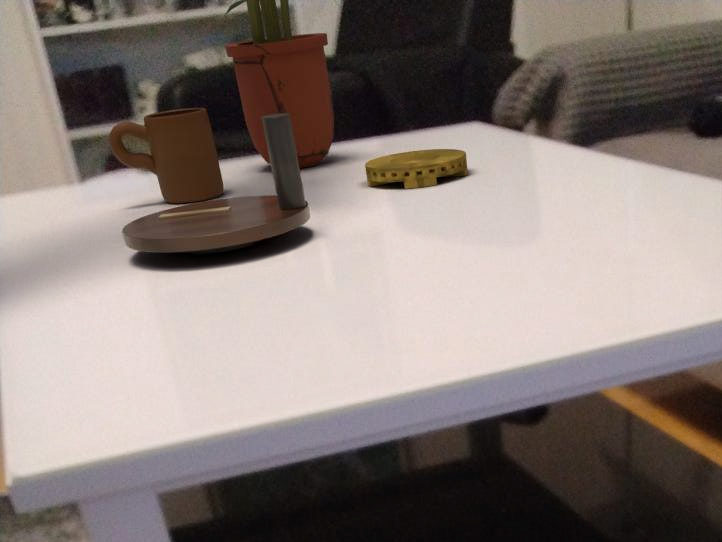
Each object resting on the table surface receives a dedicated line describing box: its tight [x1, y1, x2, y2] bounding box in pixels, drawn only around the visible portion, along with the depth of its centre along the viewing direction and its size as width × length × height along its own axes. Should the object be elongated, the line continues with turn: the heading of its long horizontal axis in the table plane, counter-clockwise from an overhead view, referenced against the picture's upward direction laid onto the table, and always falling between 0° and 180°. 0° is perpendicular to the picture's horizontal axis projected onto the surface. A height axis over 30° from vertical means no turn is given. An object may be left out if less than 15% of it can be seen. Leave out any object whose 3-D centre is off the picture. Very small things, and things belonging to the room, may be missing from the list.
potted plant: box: [224, 0, 341, 169], centre depth 127 cm, size 17×16×35 cm
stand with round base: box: [121, 113, 311, 255], centre depth 98 cm, size 18×18×11 cm
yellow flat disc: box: [364, 148, 469, 190], centre depth 121 cm, size 12×12×2 cm
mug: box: [108, 107, 225, 204], centre depth 122 cm, size 12×8×9 cm, turn 107°
